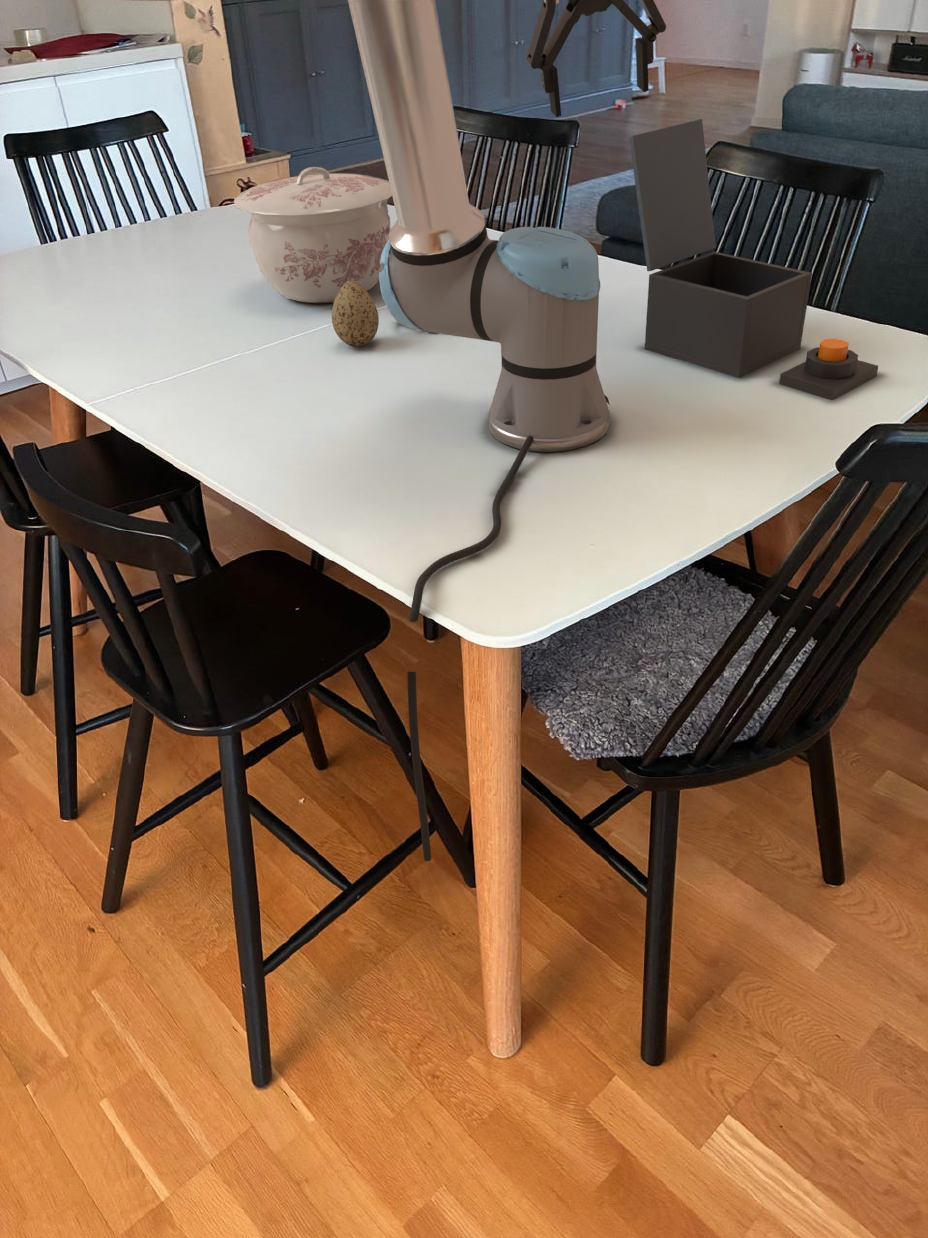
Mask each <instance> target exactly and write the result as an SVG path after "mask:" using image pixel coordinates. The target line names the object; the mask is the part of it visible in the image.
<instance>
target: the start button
mask: <svg viewBox="0 0 928 1238" xmlns="http://www.w3.org/2000/svg"><path fill="white" fill-rule="evenodd" d="M849 346H850V345H849V342H847V341H846V340H843V339H840V338H825V339H822V340H821V341H820V342H819V352H818V358H819V359H822V360H826V361H844V360H846V356H847V351H848V350H849Z"/></svg>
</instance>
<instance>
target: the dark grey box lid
mask: <svg viewBox="0 0 928 1238" xmlns="http://www.w3.org/2000/svg"><path fill="white" fill-rule="evenodd" d="M703 124H704V123H703V119H702V118H699V119H695V120H691V121H687V122H683V123H679V124H678V123H677V124H675V125H672V126H665V127H662V128H659V129H654V130H650V131H646V132H643V133H639V134H634V135H630V136H628V141H629V142H628V143H629V149H630V156H631V163H632V170H633V177H634V185H635V192H636V199H637V206H638V207H637V208H638V213H639V214H638V215H639V222H640V229H641V235H642V243H643V244H642V245H643V250H644V257H645V265H646V272H653V271H655V270H658V269H660V268H661V269H662V268H664V267H666V266H669V265H672V264H675V263H678V262H681V261H684V260H686V259H689V258H692V257H695V256H698V255H700V254H703V253H706V252H709V251H711V250H715V249H716V248H717V245H716V236H715V227H714V226H715V225H714V217H713V216H714V215H713V207H712V200H711V199H712V197H711V190H710V180H709V172H708V162H707V154H706V153H707V152H706V143H705V135H704V134H705V133H704V126H703Z"/></svg>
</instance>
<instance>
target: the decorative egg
mask: <svg viewBox="0 0 928 1238" xmlns="http://www.w3.org/2000/svg"><path fill="white" fill-rule="evenodd" d="M332 303H333V304H332V307H331V322H332V323H331V324H332V327H333V330H334V331H335V334H336V335H337V337H338V339H340V340H341V341H342V342H343V343H344V344H346V345H348V346H350V347H356V348H357V347H364V346H366V345H368V344H369V343H370V342H371V341H372V340H373V339H374V338H375V337H376V335H377V332H378V329H379V325H380V323H379V321H380V318H379V311H378V309H377V305H376V303H375V301H374V299H373V297H372V296H371V294H370V293H369V291H367V290H366V289H365V288H364V287H362V286H361V285H360V284H359V283H358V282H356V281H348V282H346V283H345V284H344V285H343V286H342V288H341V289H340V290H339V292H338V294H337V296H336V298H335V300H334V302H332Z"/></svg>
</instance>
